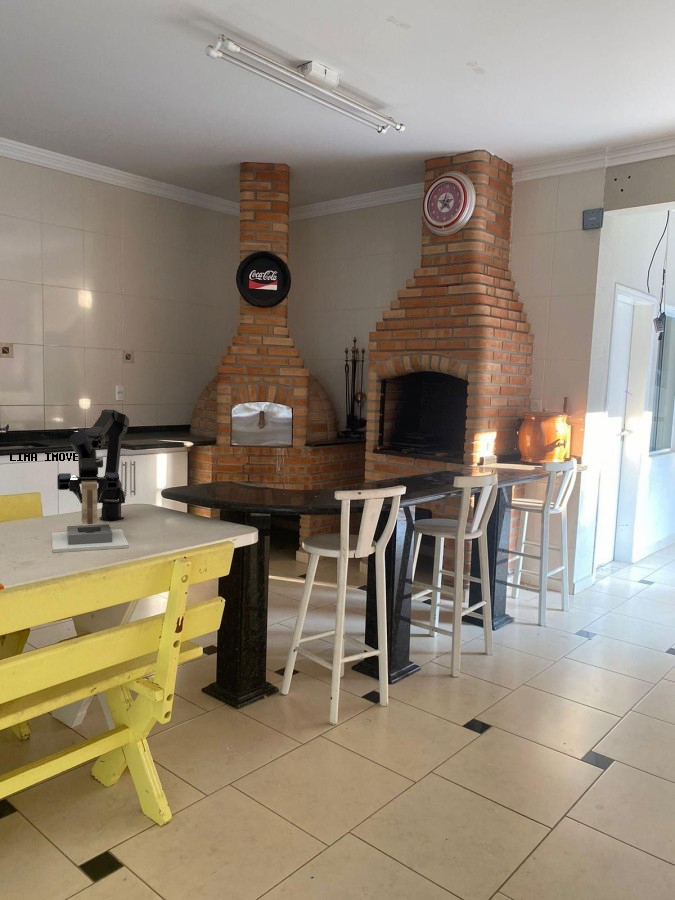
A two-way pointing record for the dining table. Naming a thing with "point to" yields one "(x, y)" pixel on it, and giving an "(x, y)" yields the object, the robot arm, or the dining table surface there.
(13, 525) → the dining table surface
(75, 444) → the robot arm
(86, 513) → the keyed peg
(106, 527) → the socket block
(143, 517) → the dining table surface
